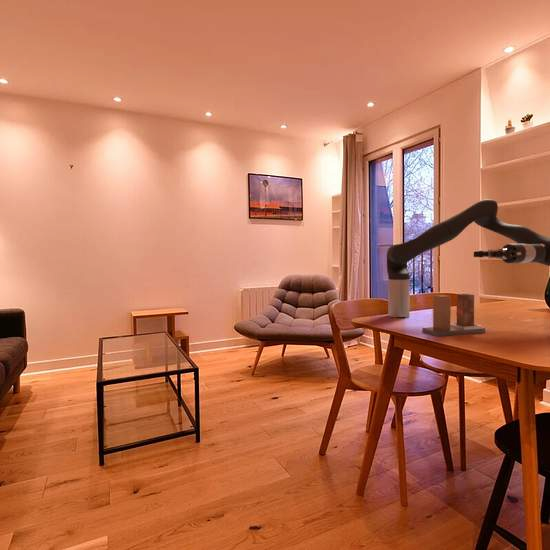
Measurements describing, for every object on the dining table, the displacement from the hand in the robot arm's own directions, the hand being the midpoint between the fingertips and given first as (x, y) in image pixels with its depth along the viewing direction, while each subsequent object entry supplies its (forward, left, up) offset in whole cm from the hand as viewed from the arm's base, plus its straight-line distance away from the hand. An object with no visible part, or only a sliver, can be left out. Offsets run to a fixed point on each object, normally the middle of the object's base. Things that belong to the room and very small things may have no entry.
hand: (483, 254), depth 137 cm
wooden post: (+5, -8, -27) cm, 28 cm away
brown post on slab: (+7, -13, -28) cm, 32 cm away
